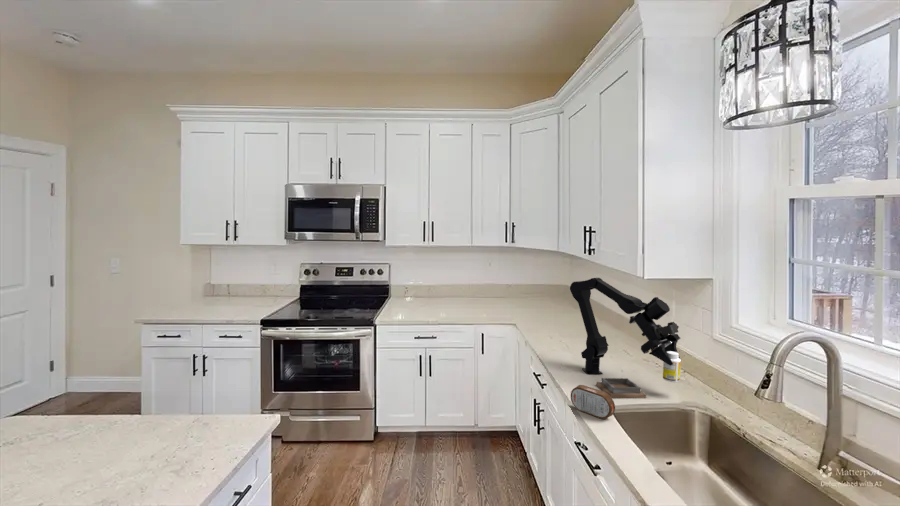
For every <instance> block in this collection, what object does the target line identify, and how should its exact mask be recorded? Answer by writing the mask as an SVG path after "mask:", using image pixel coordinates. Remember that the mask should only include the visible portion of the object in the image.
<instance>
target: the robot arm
mask: <svg viewBox="0 0 900 506" xmlns="http://www.w3.org/2000/svg"><path fill="white" fill-rule="evenodd" d="M569 290H570V291H569V292H571V295H572V298H573V299H574V300H575V301H576V302H577V304H578V307H579V311H580V314H581V317H582V321H583V324H584V329H585V332H586V340H585V344H586V348H585V349H583V351H581V352H580V353H581V354H580V355H581V358H582V359H584V360H585V365H584V367H583V368H582V367H581V368H582V371H583V372H585V373H586V374H587V375H603V372H602V371H601V370H600V364H601V363H600V362H601V358H604V357H605V355H606V354H607V352H608V350H609V346H610V345H609V344H608V341H607V337H606V336H605V335H603V336H602V335H601V333H600V331H599V328H598V325H597V322H596V321H597V320H596V318H595V314H594V311H593V307H592V304H591V301H590V300H591V294H592V291H591V290H596V291H598V292H600V293H601V294H603V295H604V296H606V297H607V298H609V299H611V300H612V301H613V302H614V303H616V304H617V306H618V308H620V309H621V310H622V312H624V314H627V315H631V316H629V322H628V323H629V324H630V325H631V324H636V325H637V326H638V328H639V330H641V332H642V333H641V336H642V337H646V339H647V341H646V342H645V343H643V344H642V345H640V350H641V352H642V353H643V354H649V355H651V356H653V357H655V358H657V359H659V360H661V361H662V362H663V363H664V362H665V363H667V364H669V365H670V366H671V365H673V363H672V361H671V359H670V358H669V356H668V354H667V351H673V352H677V353H679V352H678V349H677V343H678V342H679V340H681V337H680V336H679V334H678V333H679V330H678V329H679V328H680V326H679V325H677V323H675V321H670V322H668V323H667V325H664V326H662V324H659V323H658V324H657V323H656V322H655V321H658V320H660V319H661V318H662V317H664V316H665V315H667V313H668V312H670V306H669V305H668V304H667V303H666V302H665V301H664V300H662V299H660V298H659V297H658V296H655V297H653V298H652V299H651V301H649V302H648V303H647V302H643V300H642V299H640V298H638V297H636V296H633V295H630V294H626V293H624V292H622V291H621V290H619V289H618V288H616V287H614V286H612V285H611V284H609V283H608V282H606V281H604V280H603V279H602V278H601V277H592V278H589V279H585V280H578V281H572V283H571V284H570V286H569ZM632 314H635V315H632ZM654 320H655V321H654ZM679 359H680V360H681V358H680V356H679Z"/></svg>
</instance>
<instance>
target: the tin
mask: <svg viewBox="0 0 900 506" xmlns="http://www.w3.org/2000/svg"><path fill="white" fill-rule="evenodd" d="M570 401H571V403H572V405H573V407H574V408H575V409H576V410H578V411H580V412H582V413H584V414H588V415H590V416H593V417H595V418H597V417H598V419H602V420H604V419H608V418H609V417H612V416H613V415H614V414H615V412H616V405H615V401H614V398H611V397H610V396H609V395H608V394H607V393H605V392H603V391H602V390H599V389H597V388H592V387H590V386H587V385H584V384H579V385H577V386H576V387H574V388H573V389H572V390H571V391H570Z"/></svg>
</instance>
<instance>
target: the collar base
mask: <svg viewBox="0 0 900 506" xmlns="http://www.w3.org/2000/svg"><path fill="white" fill-rule="evenodd" d="M595 386H597V387H598V388H599V389H600V391H602V392H605V393H607V394H608V395H609V396H610V397H611V398H612V399H647V394H646V393H644V392H643V391H642V390H641V389H642V388H641V387H640V386H639V385H637V384H636V383H634V382H633V381H632V380H631V379H629V378H625V377H623V378H620V377H618V378H617V377H616V378H615V377H613V378H612V377H610V378H609V377H607V378H606V377H605V378H601V381H597V382H596V385H595Z"/></svg>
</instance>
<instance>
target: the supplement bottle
mask: <svg viewBox="0 0 900 506" xmlns="http://www.w3.org/2000/svg"><path fill="white" fill-rule="evenodd" d="M677 352H678V351H677ZM677 352H673V351H667V354H668V356H669V358H670V359H671V361H672V363H673V365H671V366H670V365H669V364H667V363H665V362H664V361H663V363H662V364H663V368H662V379H663V380H664V381H666V382H668V383H678V382H680V380H681V379H680V378H681V365H682V363H681V362H682V360H681V358H680V359H679V357H680V354H679V352H678V353H677Z"/></svg>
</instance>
